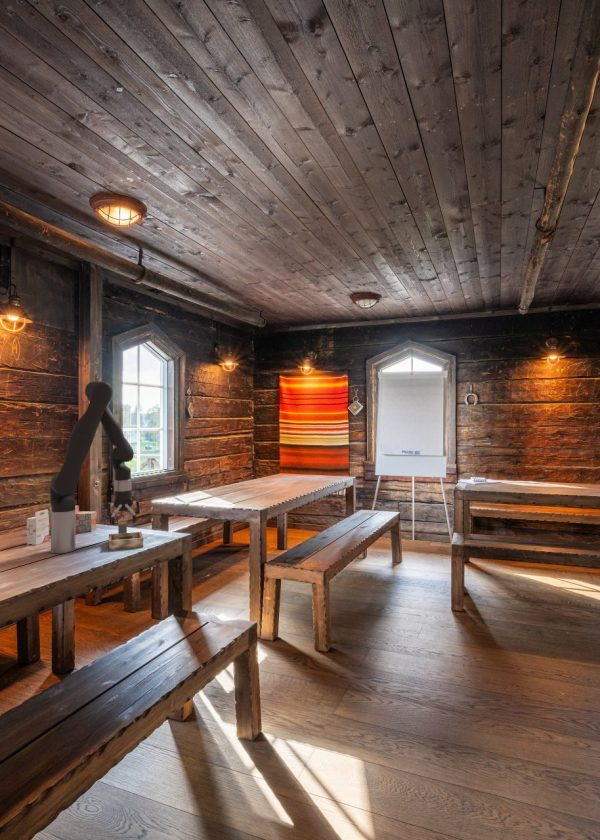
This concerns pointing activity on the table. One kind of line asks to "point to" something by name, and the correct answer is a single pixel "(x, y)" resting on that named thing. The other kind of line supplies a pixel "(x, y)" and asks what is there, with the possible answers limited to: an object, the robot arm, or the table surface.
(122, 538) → the box
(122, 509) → the robot arm
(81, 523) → the multicoloured rectangular block
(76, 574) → the table surface
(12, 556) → the table surface
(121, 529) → the connector
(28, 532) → the ink cartridge box
